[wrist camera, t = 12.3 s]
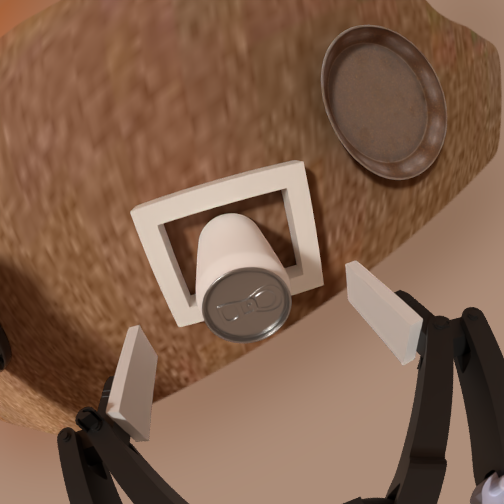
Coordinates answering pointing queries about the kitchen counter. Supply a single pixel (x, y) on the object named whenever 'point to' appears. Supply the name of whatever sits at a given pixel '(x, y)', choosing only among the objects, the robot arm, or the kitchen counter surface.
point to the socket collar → (217, 194)
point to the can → (240, 281)
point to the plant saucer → (384, 101)
